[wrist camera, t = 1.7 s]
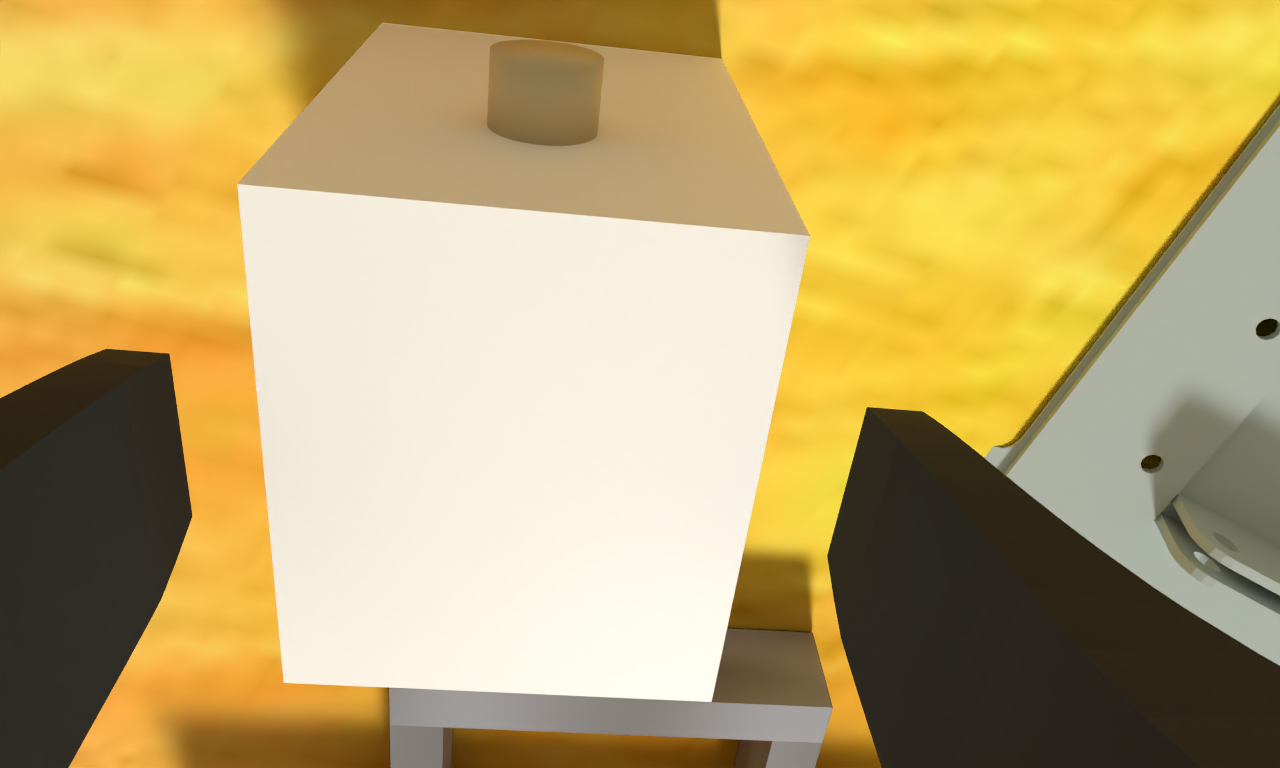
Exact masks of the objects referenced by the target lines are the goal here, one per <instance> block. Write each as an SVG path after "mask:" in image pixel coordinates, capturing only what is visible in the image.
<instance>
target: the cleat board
mask: <svg viewBox="0 0 1280 768" xmlns="http://www.w3.org/2000/svg"><path fill="white" fill-rule="evenodd" d="M389 706H390V761H391V768H452V747H453V728H472V729H496V730H520V731H545V732H569V733H593V734H617V735H641V736H666V737H690V738H714V739H738V740H740V742H739V746H738V750H737V754H736V759H735V763H734V767H733V768H815V765H816V762H817V759H818V755H819V752H820V749H821V745H822V742H823V739H824V735H825V732H826V729H827V725H828V722H829V719H830V715H831V712H832V709H833V707H832V703H831V699H830V695H829V692H828V688H827V684H826V680H825V677H824V673H823V669H822V666H821V662H820V658H819V654H818V651H817V647H816V643H815V639H814V636H813V633H807V632H788V631H769V630H749V629H730V628H727V631H726V636H725V641H724V645H723V650H722V655H721V660H720V664H719V669H718V674H717V679H716V683H715V688H714V693H713V697H712V702H701V701H678V700H656V699H634V698H612V697H589V696H567V695H545V694H523V693H500V692H478V691H456V690H434V689H411V688H389Z"/></svg>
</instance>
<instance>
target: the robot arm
mask: <svg viewBox="0 0 1280 768" xmlns="http://www.w3.org/2000/svg"><path fill="white" fill-rule="evenodd" d="M191 518H192V510H191V503H190V496H189V489H188V482H187V475H186V468H185V461H184V454H183V447H182V440H181V433H180V426H179V418H178V411H177V404H176V397H175V390H174V383H173V376H172V369H171V362H170V355H169V354H166V353H153V352H140V351H127V350H114V349H105V350H102V351H100V352H97V353H95V354H92V355H89V356H87V357H85V358H82V359H80V360H78V361H75V362H73V363H71V364H69V365H67V366H65V367H62V368H60V369H58V370H56V371H54V372H52V373H50V374H48V375H46V376H44V377H42V378H40V379H38V380H36V381H34V382H32V383H30V384H28V385H26V386H24V387H22V388H20V389H18V390H16V391H14V392H12V393H10V394H8V395H6V396H4V397H2V398H0V768H68V767H69V766H70V764H71V762H72V760H73V758H74V757H75V755H76V753H77V751H78V749H79V748H80V746H81V744H82V742H83V740H84V739H85V737H86V735H87V733H88V731H89V730H90V728H91V726H92V724H93V722H94V721H95V719H96V717H97V715H98V714H99V712H100V710H101V708H102V706H103V705H104V703H105V701H106V699H107V697H108V696H109V694H110V692H111V690H112V688H113V687H114V685H115V683H116V681H117V680H118V678H119V676H120V674H121V672H122V671H123V669H124V667H125V665H126V663H127V661H128V660H129V658H130V656H131V654H132V652H133V651H134V649H135V647H136V645H137V643H138V641H139V640H140V638H141V636H142V634H143V632H144V630H145V629H146V627H147V625H148V623H149V621H150V619H151V617H152V616H153V614H154V612H155V610H156V608H157V606H158V604H159V602H160V600H161V598H162V596H163V593H164V591H165V588H166V586H167V583H168V580H169V578H170V575H171V573H172V570H173V568H174V565H175V563H176V560H177V557H178V554H179V552H180V549H181V546H182V543H183V541H184V538H185V535H186V532H187V529H188V527H189V524H190V521H191ZM827 556H828V563H829V570H830V576H831V583H832V589H833V596H834V602H835V607H836V613H837V618H838V624H839V629H840V635H841V639H842V642H843V646H844V649H845V652H846V656H847V659H848V662H849V666H850V669H851V672H852V675H853V678H854V682H855V685H856V688H857V691H858V694H859V698H860V701H861V704H862V707H863V710H864V713H865V717H866V720H867V723H868V726H869V729H870V732H871V735H872V738H873V742H874V745H875V748H876V751H877V754H878V757H879V760H880V763H881V766H882V768H1280V665H1278V664H1276V663H1274V662H1273V661H1271V660H1269V659H1267V658H1265V657H1264V656H1262V655H1260V654H1259V653H1257V652H1255V651H1254V650H1252V649H1250V648H1249V647H1247V646H1245V645H1244V644H1242V643H1241V642H1239V641H1237V640H1236V639H1234V638H1232V637H1231V636H1229V635H1228V634H1226V633H1224V632H1223V631H1221V630H1219V629H1218V628H1216V627H1215V626H1213V625H1211V624H1210V623H1208V622H1206V621H1205V620H1203V619H1202V618H1200V617H1198V616H1197V615H1195V614H1193V613H1192V612H1190V611H1189V610H1187V609H1186V608H1184V607H1182V606H1181V605H1179V604H1178V603H1176V602H1175V601H1173V600H1172V599H1170V598H1169V597H1167V596H1166V595H1164V594H1163V593H1161V592H1160V591H1158V590H1157V589H1155V588H1154V587H1152V586H1151V585H1150V584H1148V583H1147V582H1145V581H1144V580H1143V579H1141V578H1140V577H1138V576H1137V575H1136V574H1134V573H1133V572H1131V571H1130V570H1129V569H1127V568H1126V567H1124V566H1123V565H1122V564H1120V563H1119V562H1117V561H1116V560H1115V559H1113V558H1112V557H1110V556H1109V555H1108V554H1106V553H1105V552H1103V551H1102V550H1100V549H1099V548H1098V547H1096V546H1095V545H1094V544H1092V543H1091V542H1090V541H1089V540H1087V539H1086V538H1085V537H1083V536H1082V535H1081V534H1079V533H1078V532H1077V531H1075V530H1074V529H1073V528H1071V527H1070V526H1069V525H1067V524H1066V523H1065V522H1064V521H1062V520H1061V519H1060V518H1058V517H1057V516H1056V515H1054V514H1053V513H1052V512H1051V511H1049V510H1048V509H1047V508H1046V507H1044V506H1043V505H1042V504H1041V503H1039V502H1038V501H1037V500H1036V499H1034V498H1033V497H1032V496H1030V495H1029V494H1028V493H1027V492H1026V491H1024V490H1023V489H1022V488H1021V487H1019V486H1018V485H1017V484H1016V483H1014V482H1013V481H1012V480H1011V479H1009V478H1008V477H1007V476H1006V475H1004V474H1003V473H1002V472H1001V471H1000V470H998V469H997V468H996V467H995V466H993V465H992V464H991V463H990V462H988V461H987V460H986V459H985V458H984V457H982V456H981V455H980V454H979V453H977V452H976V451H975V450H974V449H972V448H971V447H970V446H969V445H967V444H966V443H965V442H964V441H962V440H961V439H960V438H959V437H957V436H956V435H955V434H953V433H952V432H951V431H950V430H948V429H947V428H946V427H944V426H943V425H942V424H940V423H939V422H937V421H936V420H935V419H933V418H932V417H930V416H929V415H927V414H926V413H924V412H922V411H909V410H896V409H883V408H870V407H867V409H866V413H865V417H864V421H863V424H862V428H861V432H860V436H859V439H858V443H857V447H856V451H855V454H854V458H853V462H852V466H851V469H850V473H849V477H848V481H847V484H846V488H845V492H844V495H843V499H842V503H841V507H840V510H839V514H838V518H837V522H836V525H835V529H834V533H833V537H832V540H831V544H830V548H829V552H828V555H827Z"/></svg>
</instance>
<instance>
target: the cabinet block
mask: <svg viewBox="0 0 1280 768" xmlns="http://www.w3.org/2000/svg"><path fill="white" fill-rule="evenodd" d="M237 185H238V196H239V206H240V217H241V228H242V239H243V249H244V260H245V271H246V282H247V292H248V303H249V314H250V325H251V335H252V346H253V357H254V368H255V378H256V389H257V400H258V411H259V421H260V432H261V443H262V454H263V464H264V475H265V486H266V497H267V507H268V518H269V529H270V540H271V550H272V561H273V572H274V583H275V593H276V604H277V615H278V626H279V636H280V647H281V658H282V669H283V679H284V683H300V684H322V685H345V686H367V687H389V688H411V689H434V690H456V691H478V692H500V693H523V694H545V695H567V696H589V697H612V698H634V699H656V700H678V701H701V702H712V697H713V693H714V688H715V683H716V679H717V674H718V669H719V664H720V660H721V655H722V650H723V645H724V641H725V636H726V631H727V626H728V622H729V617H730V612H731V607H732V603H733V598H734V593H735V588H736V584H737V579H738V574H739V570H740V565H741V560H742V555H743V551H744V546H745V541H746V536H747V532H748V527H749V522H750V517H751V513H752V508H753V503H754V498H755V494H756V489H757V484H758V479H759V475H760V470H761V465H762V461H763V456H764V451H765V446H766V442H767V437H768V432H769V427H770V423H771V418H772V413H773V408H774V404H775V399H776V394H777V389H778V385H779V380H780V375H781V370H782V366H783V361H784V356H785V352H786V347H787V342H788V337H789V333H790V328H791V323H792V318H793V314H794V309H795V304H796V299H797V295H798V290H799V285H800V280H801V276H802V271H803V266H804V261H805V257H806V252H807V247H808V243H809V238H810V235H809V233H808V231H807V229H806V227H805V225H804V223H803V221H802V219H801V217H800V215H799V213H798V211H797V209H796V207H795V205H794V203H793V201H792V199H791V197H790V195H789V193H788V191H787V189H786V187H785V185H784V183H783V181H782V179H781V177H780V175H779V173H778V171H777V169H776V167H775V165H774V163H773V161H772V159H771V157H770V155H769V153H768V151H767V149H766V146H765V144H764V142H763V140H762V138H761V136H760V134H759V132H758V130H757V128H756V126H755V124H754V122H753V120H752V118H751V116H750V114H749V112H748V110H747V108H746V106H745V104H744V102H743V100H742V98H741V96H740V94H739V92H738V90H737V88H736V86H735V84H734V82H733V80H732V78H731V76H730V74H729V72H728V70H727V68H726V66H725V64H724V62H723V60H722V58H712V57H703V56H694V55H684V54H675V53H665V52H656V51H646V50H637V49H628V48H618V47H609V46H599V45H590V44H581V43H571V42H562V41H552V40H543V39H534V38H524V37H515V36H505V35H496V34H487V33H477V32H468V31H458V30H449V29H440V28H430V27H421V26H411V25H402V24H393V23H383V22H382V23H381V24H380V25H379V26H378V28H377V29H376V30H375V31H374V32H373V33H372V34H371V35H370V36H369V38H368V39H367V40H366V41H365V42H364V43H363V44H362V45H361V47H360V48H359V49H358V50H357V51H356V52H355V53H354V54H353V55H352V57H351V58H350V59H349V60H348V61H347V62H346V63H345V64H344V66H343V67H342V68H341V69H340V70H339V71H338V72H337V73H336V74H335V76H334V77H333V78H332V79H331V80H330V81H329V82H328V83H327V85H326V86H325V87H324V88H323V89H322V90H321V91H320V92H319V93H318V95H317V96H316V97H315V98H314V99H313V100H312V101H311V102H310V104H309V105H308V106H307V107H306V108H305V109H304V110H303V111H302V112H301V114H300V115H299V116H298V117H297V118H296V119H295V120H294V121H293V123H292V124H291V125H290V126H289V127H288V128H287V129H286V130H285V131H284V133H283V134H282V135H281V136H280V137H279V138H278V139H277V140H276V142H275V143H274V144H273V145H272V146H271V147H270V148H269V149H268V150H267V152H266V153H265V154H264V155H263V156H262V157H261V158H260V159H259V161H258V162H257V163H256V164H255V165H254V166H253V167H252V168H251V169H250V171H249V172H248V173H247V174H246V175H245V176H244V177H243V178H242V180H241V181H240V182H239V183H238V184H237Z"/></svg>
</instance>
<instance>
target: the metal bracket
mask: <svg viewBox="0 0 1280 768" xmlns="http://www.w3.org/2000/svg"><path fill="white" fill-rule="evenodd" d="M1269 318H1271V319H1275V320H1277V328H1276V330H1275V331H1274V332H1273V333H1272V334H1270V335H1268V336H1258V335H1256V327H1257V325H1258V324H1259V323H1260V322H1261V321H1263V320H1265V319H1269ZM1149 455H1157V456H1160V457H1161V462H1160V464H1159V465H1158V466H1157V467H1155V468H1152V469H1146V468H1143V467H1142V466H1141V462H1142V460H1143V459H1144V458H1145V457H1146V456H1149ZM985 459H986V460H987V461H988V462H990V463H991V464H992V465H993V466H995V467H996V468H997V469H998V470H1000V471H1001V472H1002V473H1003V474H1004V475H1006V476H1007V477H1008V478H1009V479H1011V480H1012V481H1013V482H1014V483H1016V484H1017V485H1018V486H1019V487H1021V488H1022V489H1023V490H1024V491H1026V492H1027V493H1028V494H1029V495H1030V496H1032V497H1033V498H1034V499H1036V500H1037V501H1038V502H1039V503H1041V504H1042V505H1043V506H1044V507H1046V508H1047V509H1048V510H1049V511H1051V512H1052V513H1053V514H1054V515H1056V516H1057V517H1058V518H1060V519H1061V520H1062V521H1064V522H1065V523H1066V524H1067V525H1069V526H1070V527H1071V528H1073V529H1074V530H1075V531H1077V532H1078V533H1079V534H1081V535H1082V536H1083V537H1085V538H1086V539H1087V540H1089V541H1090V542H1091V543H1092V544H1094V545H1095V546H1096V547H1098V548H1099V549H1100V550H1102V551H1103V552H1105V553H1106V554H1108V555H1109V556H1110V557H1112V558H1113V559H1115V560H1116V561H1117V562H1119V563H1120V564H1122V565H1123V566H1124V567H1126V568H1127V569H1129V570H1130V571H1131V572H1133V573H1134V574H1136V575H1137V576H1138V577H1140V578H1141V579H1143V580H1144V581H1145V582H1147V583H1148V584H1150V585H1151V586H1152V587H1154V588H1155V589H1157V590H1158V591H1160V592H1161V593H1163V594H1164V595H1166V596H1167V597H1169V598H1170V599H1172V600H1173V601H1175V602H1176V603H1178V604H1179V605H1181V606H1182V607H1184V608H1186V609H1187V610H1189V611H1190V612H1192V613H1193V614H1195V615H1197V616H1198V617H1200V618H1202V619H1203V620H1205V621H1206V622H1208V623H1210V624H1211V625H1213V626H1215V627H1216V628H1218V629H1219V630H1221V631H1223V632H1224V633H1226V634H1228V635H1229V636H1231V637H1232V638H1234V639H1236V640H1237V641H1239V642H1241V643H1242V644H1244V645H1245V646H1247V647H1249V648H1250V649H1252V650H1254V651H1255V652H1257V653H1259V654H1260V655H1262V656H1264V657H1265V658H1267V659H1269V660H1271V661H1273V662H1274V663H1276V664H1278V665H1280V104H1279V105H1278V106H1277V107H1276V109H1275V110H1274V111H1273V113H1272V114H1271V115H1270V116H1269V118H1268V119H1267V120H1266V122H1265V123H1264V124H1263V126H1262V127H1261V128H1260V129H1259V131H1258V132H1257V133H1256V135H1255V136H1254V137H1253V138H1252V140H1251V141H1250V142H1249V144H1248V145H1247V146H1246V147H1245V149H1244V150H1243V151H1242V153H1241V154H1240V155H1239V157H1238V158H1237V159H1236V160H1235V162H1234V163H1233V164H1232V166H1231V167H1230V168H1229V169H1228V171H1227V172H1226V173H1225V175H1224V176H1223V177H1222V178H1221V180H1220V181H1219V182H1218V184H1217V185H1216V186H1215V188H1214V189H1213V190H1212V191H1211V193H1210V194H1209V195H1208V197H1207V198H1206V199H1205V200H1204V202H1203V203H1202V204H1201V206H1200V207H1199V208H1198V209H1197V211H1196V212H1195V213H1194V215H1193V216H1192V217H1191V219H1190V220H1189V221H1188V222H1187V224H1186V225H1185V226H1184V228H1183V229H1182V230H1181V231H1180V233H1179V234H1178V235H1177V237H1176V238H1175V239H1174V241H1173V242H1172V243H1171V244H1170V246H1169V247H1168V248H1167V250H1166V251H1165V252H1164V253H1163V255H1162V256H1161V257H1160V259H1159V260H1158V261H1157V262H1156V264H1155V265H1154V266H1153V268H1152V269H1151V270H1150V272H1149V273H1148V274H1147V275H1146V277H1145V278H1144V279H1143V281H1142V282H1141V283H1140V284H1139V286H1138V287H1137V288H1136V290H1135V291H1134V292H1133V293H1132V295H1131V296H1130V297H1129V299H1128V300H1127V301H1126V303H1125V304H1124V305H1123V306H1122V308H1121V309H1120V310H1119V312H1118V313H1117V314H1116V315H1115V317H1114V318H1113V319H1112V321H1111V322H1110V323H1109V324H1108V326H1107V327H1106V328H1105V330H1104V331H1103V332H1102V334H1101V335H1100V336H1099V337H1098V339H1097V340H1096V341H1095V343H1094V344H1093V345H1092V346H1091V348H1090V349H1089V350H1088V352H1087V353H1086V354H1085V355H1084V357H1083V358H1082V359H1081V361H1080V362H1079V363H1078V365H1077V366H1076V367H1075V368H1074V370H1073V371H1072V372H1071V374H1070V375H1069V376H1068V377H1067V379H1066V380H1065V381H1064V383H1063V384H1062V385H1061V386H1060V388H1059V389H1058V390H1057V392H1056V393H1055V394H1054V396H1053V397H1052V398H1051V399H1050V401H1049V402H1048V403H1047V405H1046V406H1045V407H1044V408H1043V410H1042V411H1041V412H1040V414H1039V415H1038V416H1037V417H1036V419H1035V420H1034V421H1033V423H1032V424H1031V425H1030V427H1029V428H1028V429H1027V430H1026V432H1025V433H1024V434H1023V436H1022V437H1021V438H1020V439H1019V440H1018V441H1016V442H1015V443H1014V444H1013V445H1009V446H1006V447H996V446H994V447H993V448H992V449H991V451H990V452H989V453H988V454H987V456H986V457H985Z"/></svg>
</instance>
